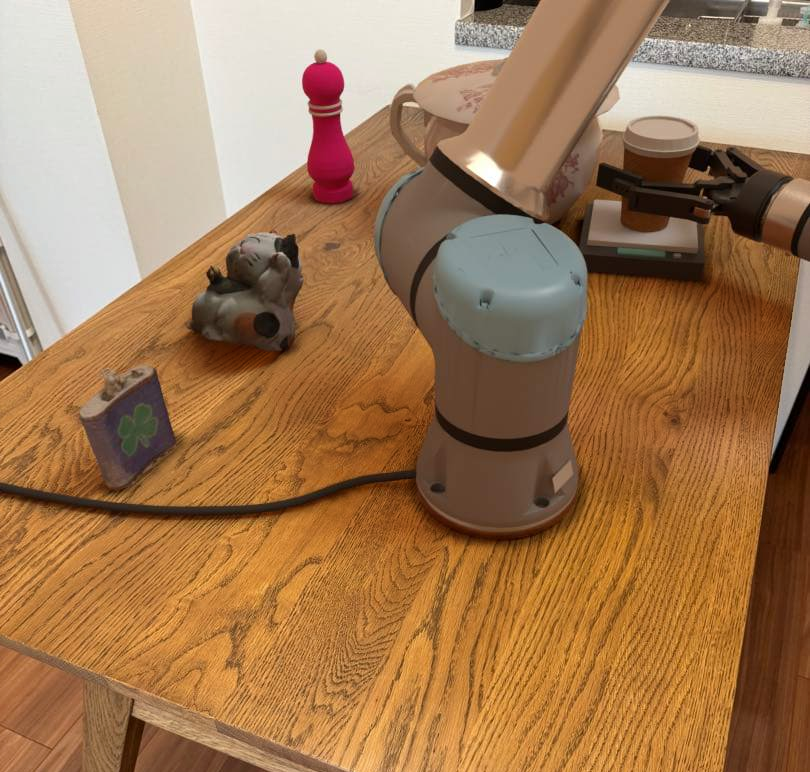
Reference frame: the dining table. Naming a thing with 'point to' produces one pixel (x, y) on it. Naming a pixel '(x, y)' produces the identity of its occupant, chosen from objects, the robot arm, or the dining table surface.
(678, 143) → the disposable coffee cup
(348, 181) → the pepper mill
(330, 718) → the dining table surface
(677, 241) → the kitchen scale
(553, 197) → the chamber pot
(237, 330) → the lucky cat figurine
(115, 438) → the flask
